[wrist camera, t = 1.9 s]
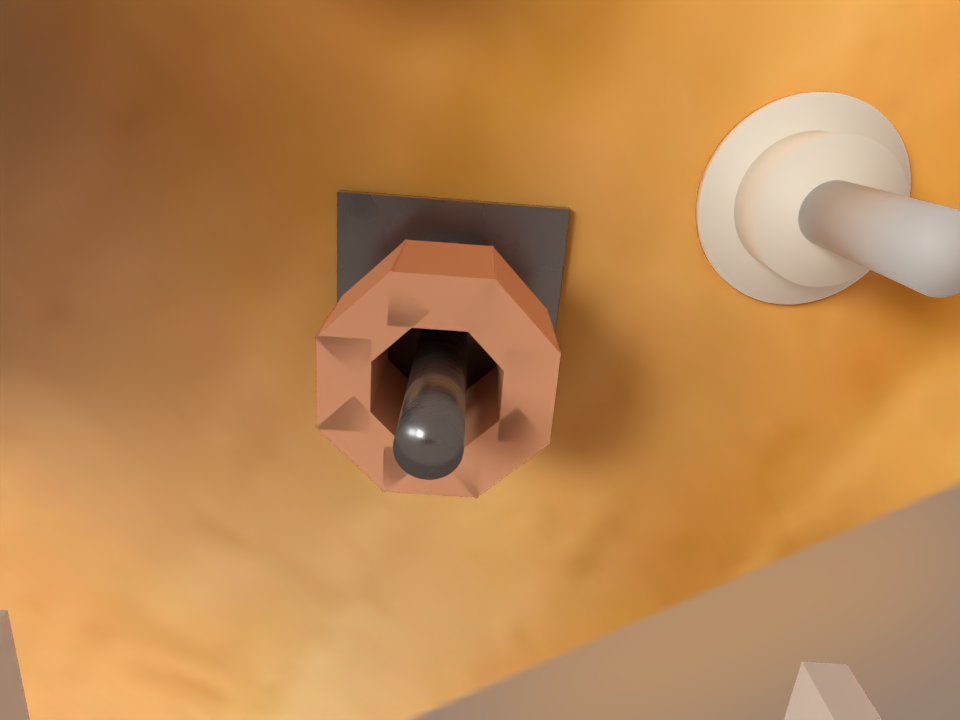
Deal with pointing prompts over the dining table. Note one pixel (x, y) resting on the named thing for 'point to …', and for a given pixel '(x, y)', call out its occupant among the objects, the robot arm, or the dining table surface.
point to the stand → (444, 353)
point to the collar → (443, 306)
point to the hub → (821, 205)
